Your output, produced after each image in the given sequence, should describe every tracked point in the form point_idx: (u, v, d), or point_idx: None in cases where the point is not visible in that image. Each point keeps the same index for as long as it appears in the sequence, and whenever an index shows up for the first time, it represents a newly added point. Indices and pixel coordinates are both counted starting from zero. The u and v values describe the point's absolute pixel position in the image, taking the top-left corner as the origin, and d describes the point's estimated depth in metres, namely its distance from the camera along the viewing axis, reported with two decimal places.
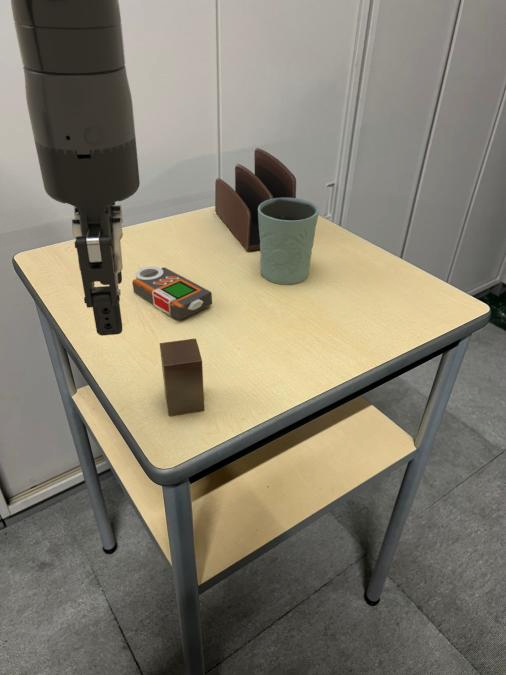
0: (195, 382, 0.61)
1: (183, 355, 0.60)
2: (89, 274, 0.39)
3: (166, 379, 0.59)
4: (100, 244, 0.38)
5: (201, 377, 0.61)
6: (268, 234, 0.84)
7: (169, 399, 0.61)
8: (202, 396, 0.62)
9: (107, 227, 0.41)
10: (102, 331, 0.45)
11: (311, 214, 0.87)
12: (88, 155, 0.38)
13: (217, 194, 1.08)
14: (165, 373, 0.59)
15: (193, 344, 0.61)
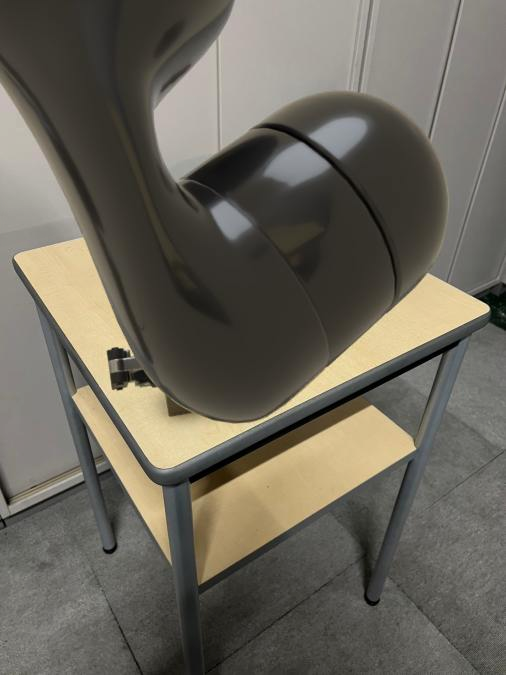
0: None
1: None
2: None
3: None
4: (110, 374, 0.36)
5: None
6: None
7: (169, 399, 0.61)
8: None
9: None
10: None
11: None
12: None
13: None
14: None
15: None
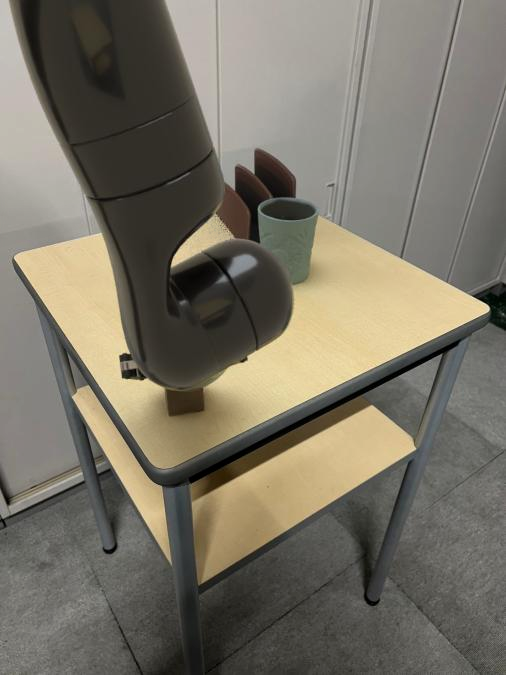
0: None
1: None
2: None
3: None
4: (121, 371, 0.53)
5: None
6: (268, 234, 0.84)
7: (169, 399, 0.61)
8: (202, 396, 0.62)
9: None
10: None
11: (311, 214, 0.87)
12: None
13: None
14: None
15: None
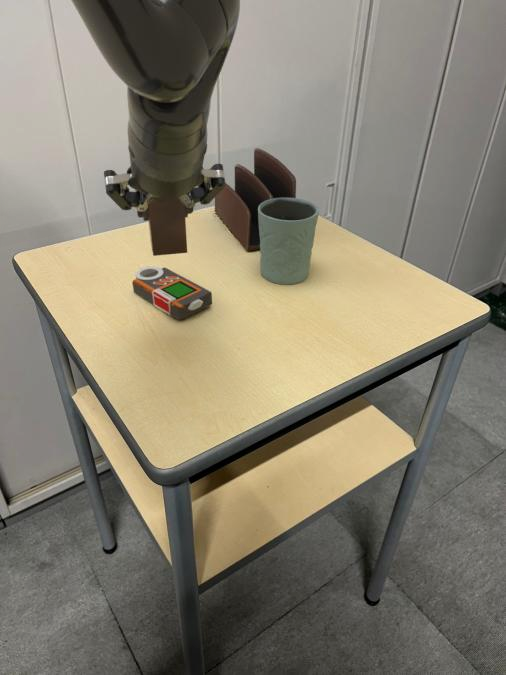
0: (177, 218, 0.64)
1: None
2: None
3: (150, 212, 0.63)
4: None
5: (183, 213, 0.64)
6: (268, 234, 0.84)
7: (153, 236, 0.65)
8: (185, 235, 0.66)
9: (131, 184, 0.56)
10: None
11: (311, 214, 0.87)
12: None
13: (217, 194, 1.08)
14: None
15: None
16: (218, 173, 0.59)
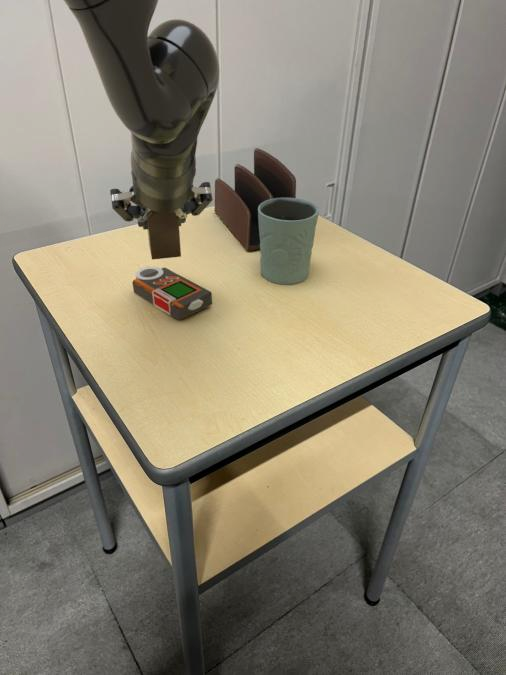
0: (172, 227, 0.75)
1: None
2: None
3: (149, 222, 0.74)
4: (112, 203, 0.68)
5: (177, 223, 0.75)
6: (268, 234, 0.84)
7: (152, 243, 0.76)
8: (178, 242, 0.77)
9: (133, 200, 0.67)
10: None
11: (311, 214, 0.87)
12: None
13: (217, 194, 1.08)
14: None
15: None
16: (206, 190, 0.70)
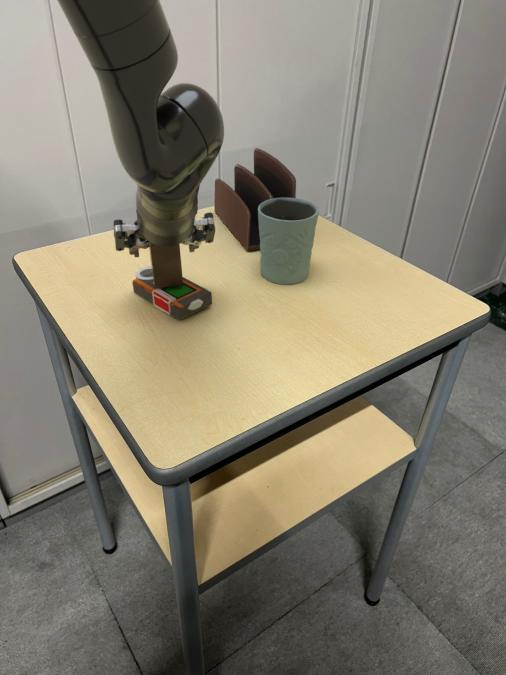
0: (174, 256, 0.79)
1: None
2: (114, 231, 0.72)
3: (152, 252, 0.78)
4: (115, 233, 0.70)
5: (179, 252, 0.79)
6: (268, 234, 0.84)
7: (155, 272, 0.79)
8: (180, 271, 0.80)
9: (137, 234, 0.70)
10: None
11: (311, 214, 0.87)
12: None
13: (217, 194, 1.08)
14: (151, 246, 0.77)
15: None
16: (207, 221, 0.72)
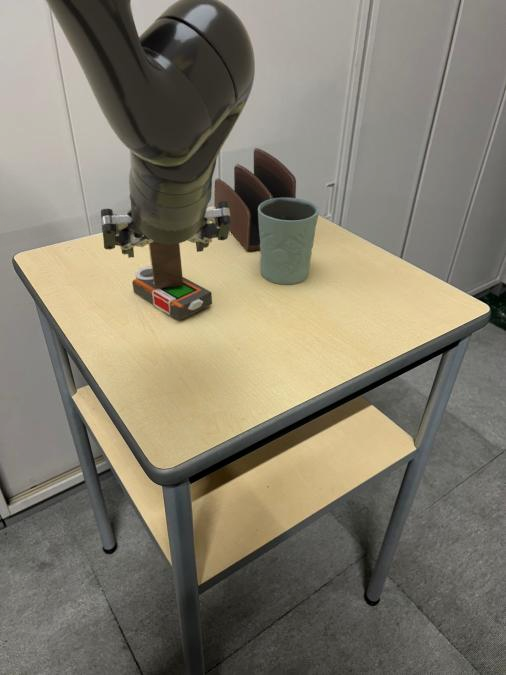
0: (174, 256, 0.79)
1: None
2: None
3: (151, 252, 0.78)
4: (103, 226, 0.54)
5: (179, 252, 0.79)
6: (268, 234, 0.84)
7: (155, 272, 0.79)
8: (180, 271, 0.80)
9: (131, 228, 0.54)
10: None
11: (311, 214, 0.87)
12: None
13: (217, 194, 1.08)
14: (150, 247, 0.77)
15: None
16: (222, 211, 0.56)
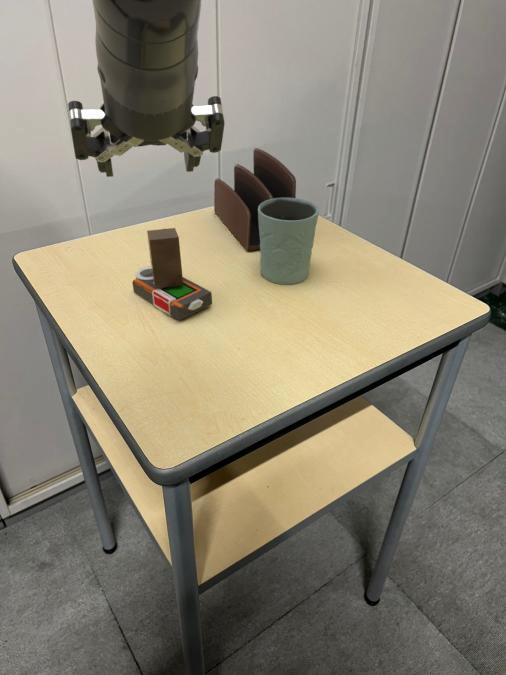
0: (174, 257, 0.79)
1: (164, 235, 0.78)
2: None
3: (151, 252, 0.78)
4: (70, 122, 0.45)
5: (179, 252, 0.79)
6: (268, 234, 0.84)
7: (155, 272, 0.79)
8: (180, 271, 0.80)
9: (105, 125, 0.46)
10: None
11: (311, 214, 0.87)
12: None
13: (216, 194, 1.08)
14: (150, 247, 0.77)
15: (172, 230, 0.80)
16: (213, 108, 0.47)
